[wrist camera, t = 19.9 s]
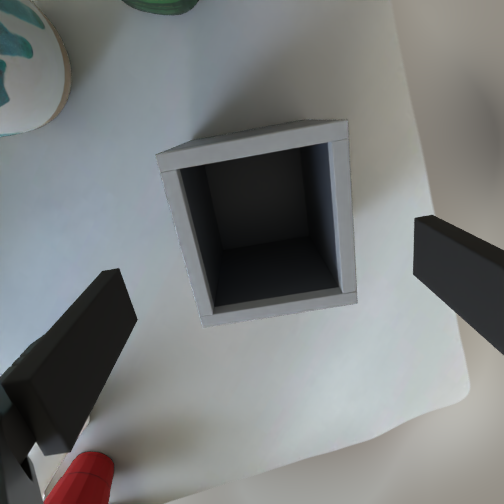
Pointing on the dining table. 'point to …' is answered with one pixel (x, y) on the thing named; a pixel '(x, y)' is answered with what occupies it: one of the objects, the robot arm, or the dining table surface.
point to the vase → (30, 68)
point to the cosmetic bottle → (47, 464)
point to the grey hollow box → (264, 219)
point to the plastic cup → (84, 481)
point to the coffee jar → (162, 6)
